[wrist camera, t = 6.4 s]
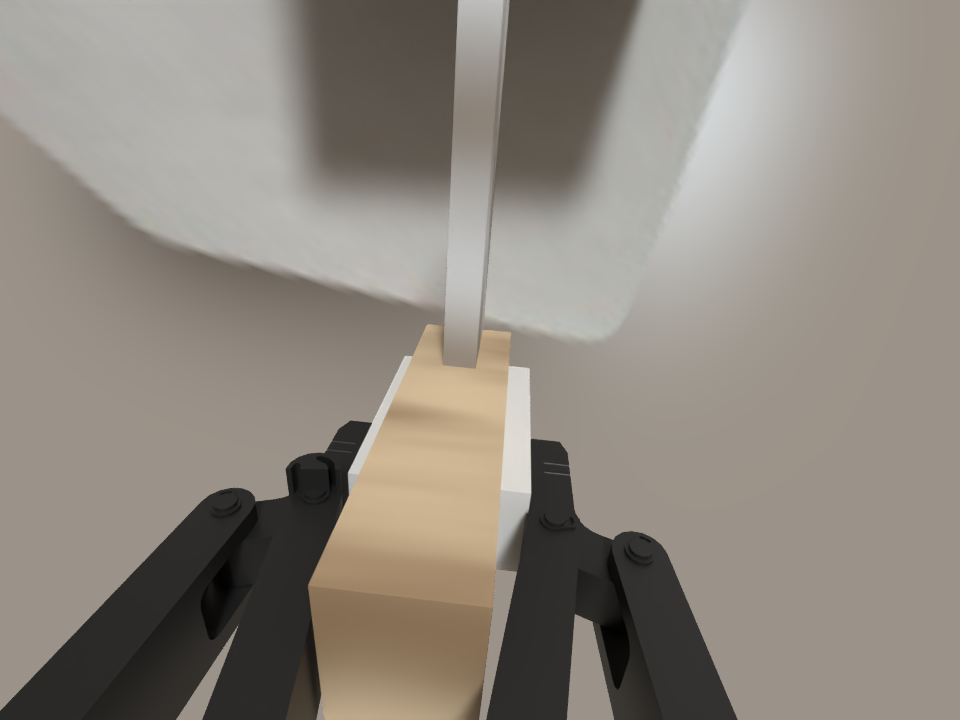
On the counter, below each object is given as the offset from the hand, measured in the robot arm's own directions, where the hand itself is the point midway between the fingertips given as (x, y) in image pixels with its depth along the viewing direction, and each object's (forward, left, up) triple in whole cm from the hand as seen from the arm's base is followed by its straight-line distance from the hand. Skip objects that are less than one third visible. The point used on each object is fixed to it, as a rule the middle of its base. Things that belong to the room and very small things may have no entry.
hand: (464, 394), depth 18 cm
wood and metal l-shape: (0, +6, -1) cm, 6 cm away
